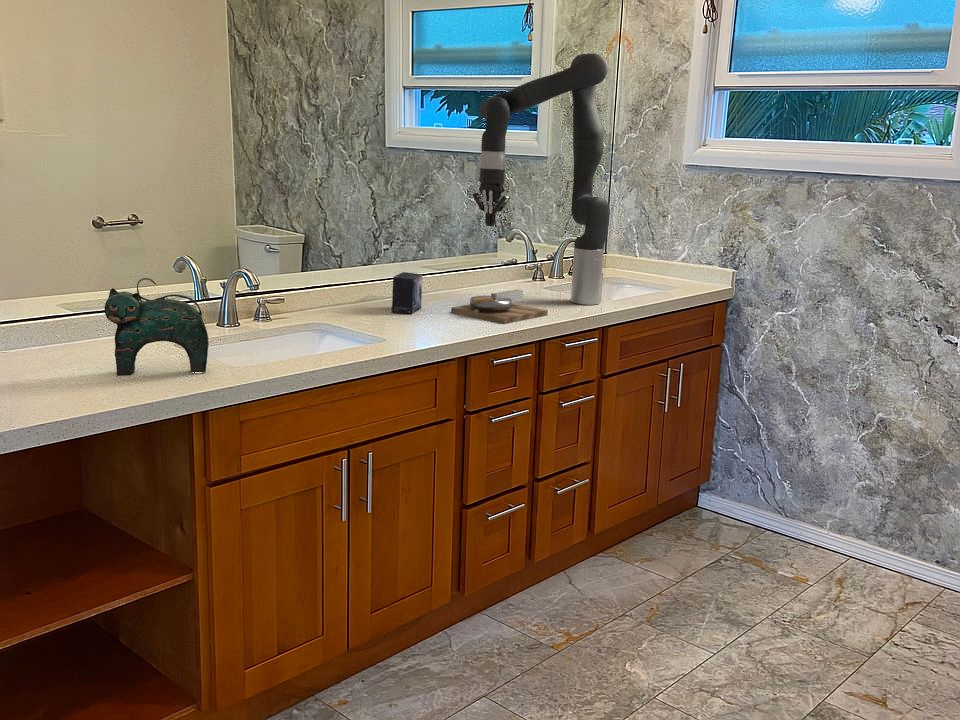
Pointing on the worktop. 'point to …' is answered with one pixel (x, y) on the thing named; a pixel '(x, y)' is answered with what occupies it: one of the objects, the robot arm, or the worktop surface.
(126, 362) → the ceramic cat
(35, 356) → the worktop surface
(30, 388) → the worktop surface
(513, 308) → the stand
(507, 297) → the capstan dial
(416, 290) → the small box
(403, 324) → the worktop surface
